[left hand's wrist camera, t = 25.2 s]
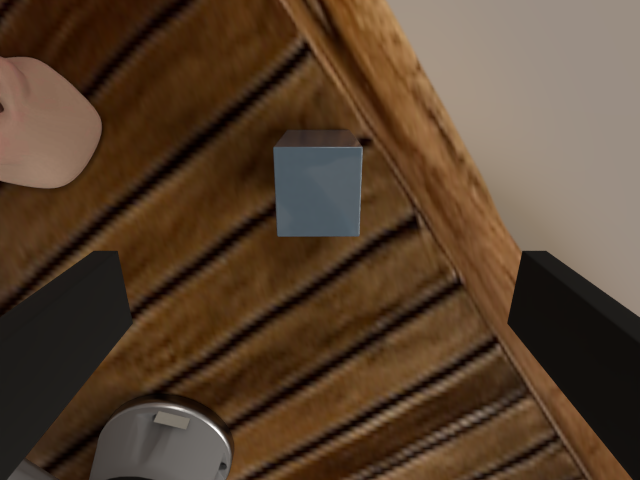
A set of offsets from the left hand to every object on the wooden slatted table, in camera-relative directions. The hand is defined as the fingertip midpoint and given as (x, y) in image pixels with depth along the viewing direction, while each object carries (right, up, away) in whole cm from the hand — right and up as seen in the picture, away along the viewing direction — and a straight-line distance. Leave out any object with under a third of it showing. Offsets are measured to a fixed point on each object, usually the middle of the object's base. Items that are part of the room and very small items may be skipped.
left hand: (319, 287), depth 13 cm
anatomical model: (-26, +11, +20) cm, 34 cm away
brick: (0, +8, +21) cm, 23 cm away
